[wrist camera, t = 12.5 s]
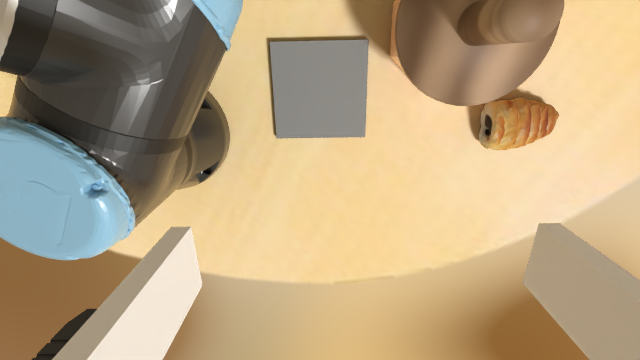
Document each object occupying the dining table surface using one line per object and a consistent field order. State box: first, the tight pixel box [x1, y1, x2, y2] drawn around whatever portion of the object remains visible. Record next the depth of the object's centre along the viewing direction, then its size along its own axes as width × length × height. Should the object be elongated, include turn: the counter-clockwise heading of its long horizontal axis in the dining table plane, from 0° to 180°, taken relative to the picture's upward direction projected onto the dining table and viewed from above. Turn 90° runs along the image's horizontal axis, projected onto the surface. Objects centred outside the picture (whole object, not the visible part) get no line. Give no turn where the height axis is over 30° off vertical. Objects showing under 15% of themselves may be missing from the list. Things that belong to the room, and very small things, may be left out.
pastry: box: [479, 98, 559, 150], centre depth 40 cm, size 9×7×4 cm
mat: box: [270, 40, 369, 138], centre depth 40 cm, size 12×12×1 cm
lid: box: [395, 0, 564, 106], centre depth 27 cm, size 16×16×10 cm
